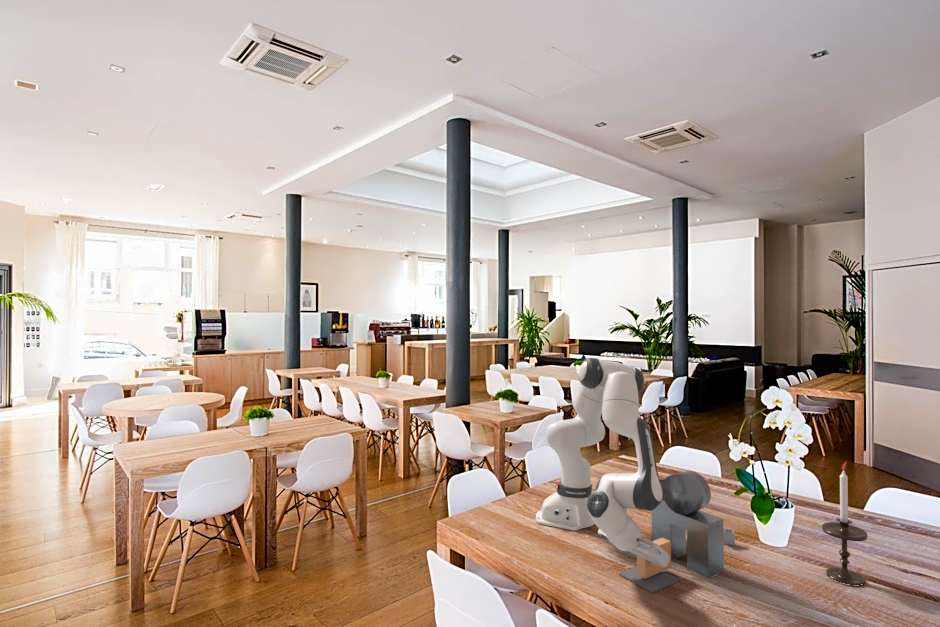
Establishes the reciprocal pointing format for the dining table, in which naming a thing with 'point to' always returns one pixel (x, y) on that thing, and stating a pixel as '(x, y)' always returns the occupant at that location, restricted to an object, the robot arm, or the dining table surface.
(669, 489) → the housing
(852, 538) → the candlestick
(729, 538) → the lighter
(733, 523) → the dining table surface
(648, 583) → the mat
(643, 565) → the plug
